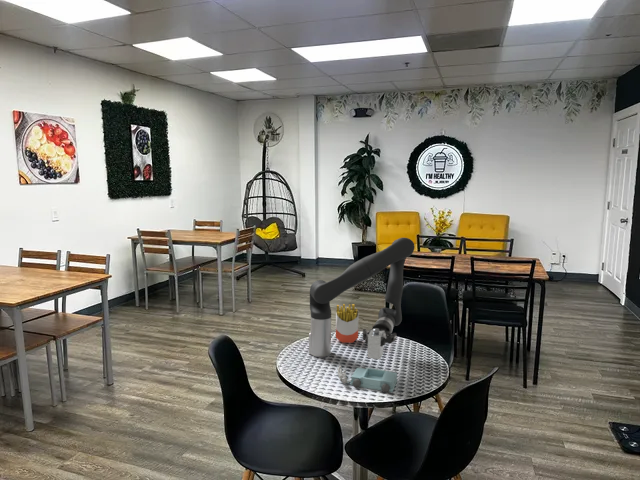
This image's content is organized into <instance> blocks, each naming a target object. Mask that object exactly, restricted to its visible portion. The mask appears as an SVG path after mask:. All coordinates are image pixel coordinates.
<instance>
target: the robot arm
mask: <svg viewBox="0 0 640 480" xmlns="http://www.w3.org/2000/svg"><path fill="white" fill-rule="evenodd" d="M414 252H415V243H414V241H413V240H412V239H410V238H408V237H399V238H397V239H395V240H393V242H392V243H391V244H390V245H389V246H387V247H386V248H384V249H383V250H380V251H377V252H375V253H372V254H370V255H367V256H364V257H362V258H361V259H359V260H357V261H355V262H353V263H352V264H350V265H349V266H348V267H347V268H346V269H345V270H343V272H342V273H341V274H340V275H338V276H337V277H335V278H333V279H331V280H329V281H325V280H322V279H319V280H315V281H313V282H312V283H311V285H310V286H309V287H310V288H309V310H310V332H309V334H308V355H311V356H312V357H318V358H325V357H329V356H330V355H331V354H332V353H331V351H332V347H331V346H332V309H331V303H330V302H331V301H333V300H335V298H337V297H338V296H340V295H341V294H343V293H344V292H346V291H348V290H349V289H353V288H354V287H355V286H357V285H359V284H361V283H363V282H365V281H367V280H368V279H371V278H372V277H374V276H375V275H377V274H379V273H380V272H382V271H383V270H385V269H386V268H387V267H389V275H388V281H387V288H386V293H385V298H384V301H385V302H386V303H388V304H391V305H393V307H394V308H390V307H389V308H388V307H382V308H380V309H379V312H378V316H377V317H378V318H377V320H376V322H375V323H374V325H373V326H372V328H371V329H370V330H367V329H365V328H364V329H362V340H363V341H364V343H365V345H367V346H368V334H369V333H370V331H371V330H373V328H378V329H379V331H384V336H383V338H382V340H381V346H383V347H384V346H385V345H386V344H387V343H388V345H389V344H393V343H394V342H395V341H396V340H397V333H396V332H393V329H394V327H395V326H399V325H400V324H402V323H401V322H402V320H403V316H402V307H401V306H402V305H401V304H402V297H403V289H404V268H405V267H404V266H405V262H406V259H407V258H409V257H410V256H412V255H413V253H414Z"/></svg>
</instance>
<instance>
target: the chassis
mask: <svg viewBox="0 0 640 480" xmlns="http://www.w3.org/2000/svg"><path fill="white" fill-rule="evenodd" d="M350 378H351V379H350V380H351V382H350V386H353V387H354V388H356V389H359V388H365V389H370V390H376V391H382V392H383V393H385V394H386V393H393V392H394V389H395V387H396V384H397V382H398V372H394V371H392V370H390V371H389V370H388V371H387V370H383V369H378V368H372V367H365V366H362V367H356V369H355V370H354V372H353V373H352V375H351V377H350Z"/></svg>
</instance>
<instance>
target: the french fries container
mask: <svg viewBox="0 0 640 480" xmlns="http://www.w3.org/2000/svg"><path fill="white" fill-rule="evenodd" d="M359 312H360V311H359V310H358V308H356V306H355V303H354V304H353V303H352V304H348V306H347V307H346V304H345V303H343V304H342V306H340V305H339V304H337V305H336V311H335V338H336V339H337V340H338V341H340V343H350V344H351V343H352V344H353V343H354V342H355V341H356V340H358V339H359V316H360V315H359Z"/></svg>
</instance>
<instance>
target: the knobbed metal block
mask: <svg viewBox="0 0 640 480" xmlns="http://www.w3.org/2000/svg"><path fill="white" fill-rule="evenodd" d="M372 328H373V327H372ZM370 330H371V331H370ZM370 330H369V331H370V333H369V334H368V345H367V358H368V359H373V360H381V358H383V357H382V356H383V355H384V346H381V340H382V338H383V336H384V331H379V329H378V328H373V330H372V329H370Z"/></svg>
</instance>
